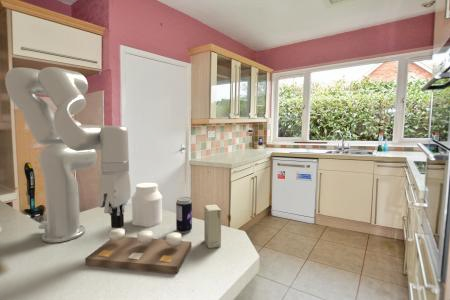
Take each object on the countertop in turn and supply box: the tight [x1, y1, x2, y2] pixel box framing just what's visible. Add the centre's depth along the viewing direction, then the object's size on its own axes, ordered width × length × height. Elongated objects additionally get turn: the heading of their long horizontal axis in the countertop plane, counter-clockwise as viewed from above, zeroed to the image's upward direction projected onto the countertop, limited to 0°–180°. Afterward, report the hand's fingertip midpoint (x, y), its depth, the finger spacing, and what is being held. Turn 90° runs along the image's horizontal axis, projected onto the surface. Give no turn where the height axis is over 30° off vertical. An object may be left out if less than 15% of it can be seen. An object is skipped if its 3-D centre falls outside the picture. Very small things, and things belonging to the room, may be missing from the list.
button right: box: [165, 231, 182, 246], centre depth 73 cm, size 4×4×2 cm
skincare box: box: [203, 204, 222, 249], centre depth 80 cm, size 6×4×12 cm
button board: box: [85, 236, 192, 275], centre depth 72 cm, size 26×14×2 cm, turn 83°
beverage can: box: [175, 196, 193, 234], centre depth 90 cm, size 6×6×12 cm
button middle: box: [136, 229, 154, 243], centre depth 74 cm, size 4×4×2 cm
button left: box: [108, 227, 126, 241], centre depth 75 cm, size 4×4×2 cm
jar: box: [131, 182, 163, 228], centre depth 98 cm, size 12×10×15 cm
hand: (117, 226), depth 75 cm, fingers closed
